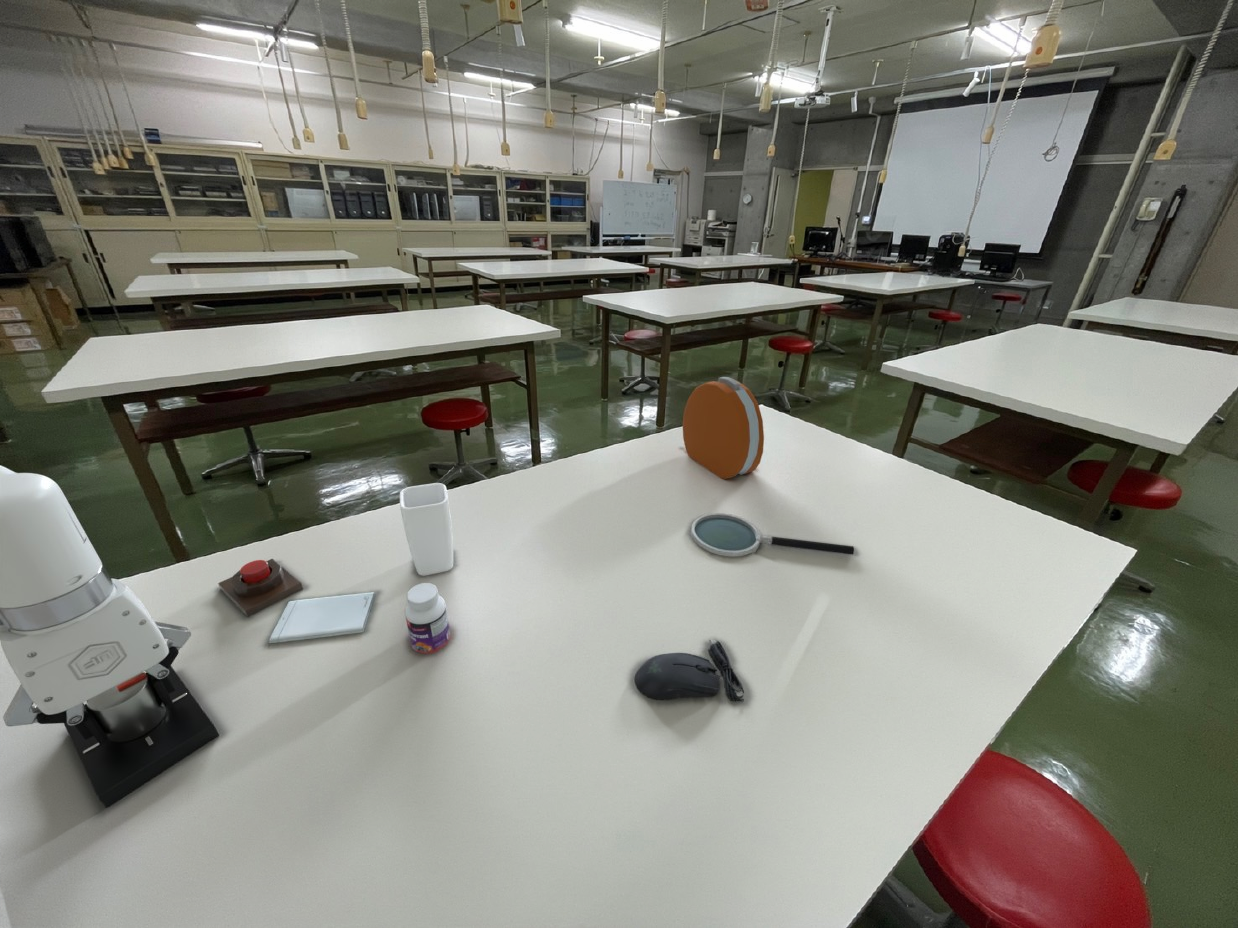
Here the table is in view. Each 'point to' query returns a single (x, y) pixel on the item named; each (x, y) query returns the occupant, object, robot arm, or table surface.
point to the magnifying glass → (745, 537)
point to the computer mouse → (687, 675)
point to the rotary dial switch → (145, 747)
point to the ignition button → (255, 571)
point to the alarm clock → (724, 428)
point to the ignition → (260, 589)
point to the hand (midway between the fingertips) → (133, 715)
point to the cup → (428, 527)
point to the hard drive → (323, 617)
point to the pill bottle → (426, 618)
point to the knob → (128, 709)
